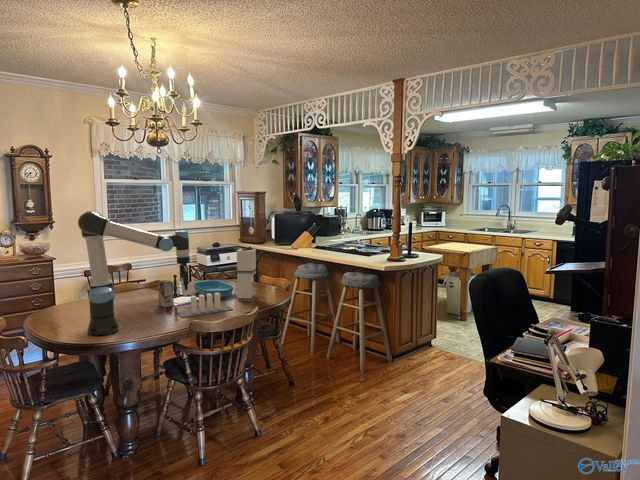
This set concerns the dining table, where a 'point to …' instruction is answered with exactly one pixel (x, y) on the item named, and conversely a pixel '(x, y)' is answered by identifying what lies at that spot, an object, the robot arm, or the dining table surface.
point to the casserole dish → (213, 288)
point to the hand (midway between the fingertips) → (185, 294)
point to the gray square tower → (246, 274)
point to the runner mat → (189, 313)
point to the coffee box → (165, 293)
